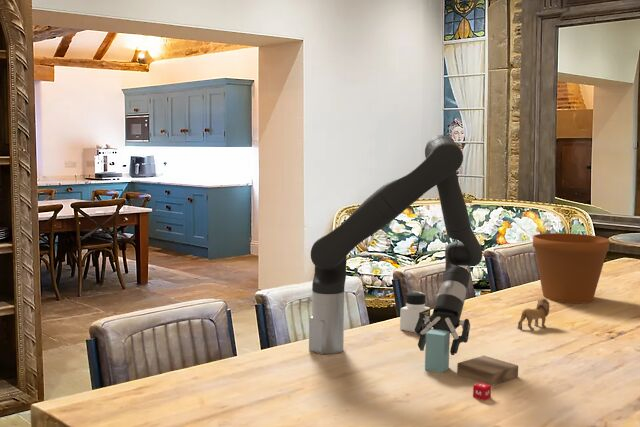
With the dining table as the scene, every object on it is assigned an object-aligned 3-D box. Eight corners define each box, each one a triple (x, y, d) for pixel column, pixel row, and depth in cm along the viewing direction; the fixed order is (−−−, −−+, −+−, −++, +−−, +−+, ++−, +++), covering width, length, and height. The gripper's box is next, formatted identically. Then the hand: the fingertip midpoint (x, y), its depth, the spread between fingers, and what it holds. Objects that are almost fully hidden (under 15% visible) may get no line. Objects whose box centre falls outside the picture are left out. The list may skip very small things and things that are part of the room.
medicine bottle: (419, 333, 230) (420, 296, 229) (399, 329, 234) (400, 293, 233) (430, 329, 236) (431, 292, 234) (410, 325, 240) (411, 289, 239)
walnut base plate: (491, 385, 182) (492, 373, 182) (457, 374, 191) (457, 363, 190) (517, 376, 189) (518, 365, 189) (483, 366, 198) (483, 355, 197)
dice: (472, 397, 174) (473, 385, 174) (480, 394, 176) (480, 382, 176) (483, 400, 172) (484, 388, 172) (490, 397, 174) (491, 385, 174)
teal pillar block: (443, 372, 192) (444, 335, 191) (424, 369, 194) (425, 333, 193) (448, 367, 196) (449, 331, 195) (430, 364, 199) (431, 328, 198)
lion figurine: (538, 322, 246) (539, 296, 245) (552, 325, 242) (554, 299, 241) (513, 329, 236) (514, 302, 235) (527, 333, 232) (529, 305, 231)
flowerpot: (516, 292, 294) (519, 234, 291) (575, 288, 302) (578, 232, 300) (559, 307, 267) (562, 244, 265) (622, 303, 276) (625, 242, 273)
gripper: (477, 311, 202) (465, 362, 193) (428, 305, 208) (413, 354, 199) (473, 295, 197) (459, 348, 188) (422, 290, 203) (407, 340, 194)
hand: (436, 351), depth 194 cm, fingers open, 8 cm apart
